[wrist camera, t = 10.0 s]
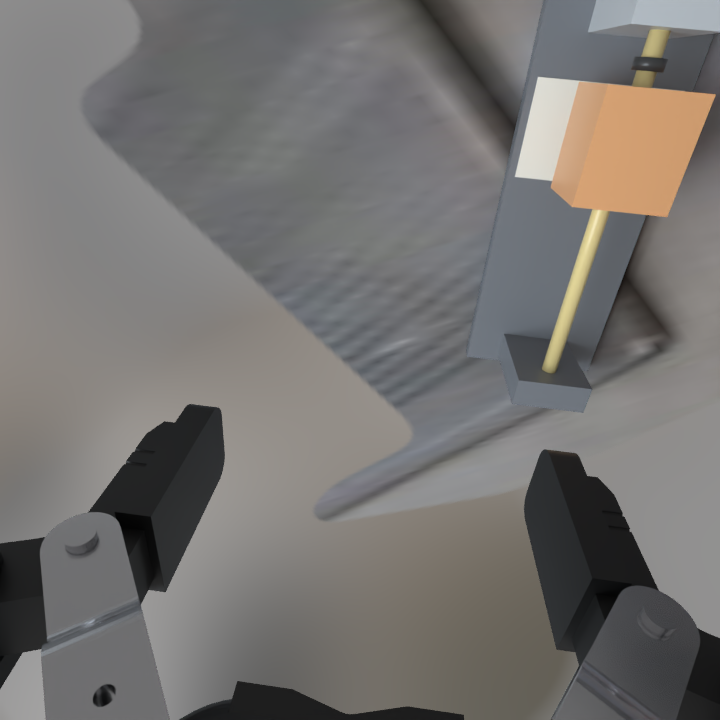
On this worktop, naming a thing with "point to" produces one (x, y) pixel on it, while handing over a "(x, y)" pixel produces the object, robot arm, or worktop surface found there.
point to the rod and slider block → (552, 213)
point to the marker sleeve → (628, 147)
